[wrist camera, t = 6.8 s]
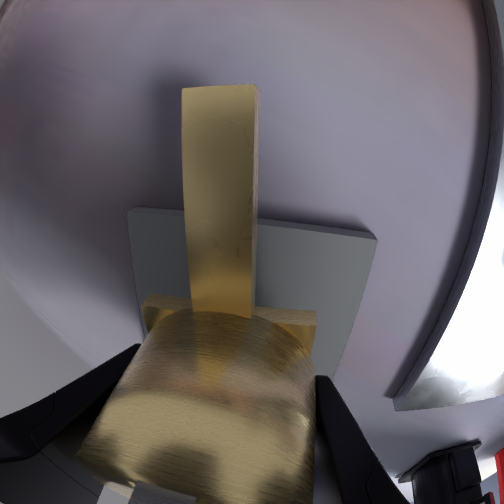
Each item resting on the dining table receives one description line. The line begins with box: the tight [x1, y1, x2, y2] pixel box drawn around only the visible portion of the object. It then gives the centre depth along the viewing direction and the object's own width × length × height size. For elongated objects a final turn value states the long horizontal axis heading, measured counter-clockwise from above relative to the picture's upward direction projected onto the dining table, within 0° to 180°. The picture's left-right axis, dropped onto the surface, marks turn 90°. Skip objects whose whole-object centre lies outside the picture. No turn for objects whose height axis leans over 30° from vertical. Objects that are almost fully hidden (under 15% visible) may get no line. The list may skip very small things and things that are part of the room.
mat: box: [126, 207, 378, 381], centre depth 10 cm, size 8×8×1 cm
